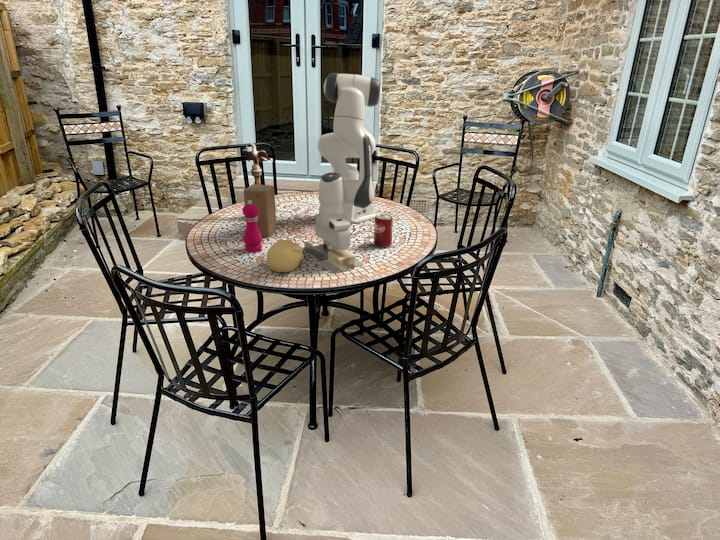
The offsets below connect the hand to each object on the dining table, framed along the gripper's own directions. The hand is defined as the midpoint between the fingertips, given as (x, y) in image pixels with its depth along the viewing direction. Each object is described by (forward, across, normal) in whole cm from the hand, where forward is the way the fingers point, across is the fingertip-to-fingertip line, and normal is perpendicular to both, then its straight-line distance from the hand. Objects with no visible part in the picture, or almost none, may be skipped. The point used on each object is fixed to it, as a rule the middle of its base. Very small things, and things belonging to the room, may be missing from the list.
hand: (331, 253), depth 181 cm
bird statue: (+2, -62, -4) cm, 62 cm away
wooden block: (+2, -39, -12) cm, 41 cm away
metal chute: (+2, -6, 0) cm, 6 cm away
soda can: (+2, -2, +25) cm, 25 cm away
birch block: (+1, +8, 0) cm, 8 cm away
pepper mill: (+2, -23, -22) cm, 32 cm away
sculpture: (+2, 0, -19) cm, 19 cm away
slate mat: (+2, +7, 0) cm, 7 cm away
